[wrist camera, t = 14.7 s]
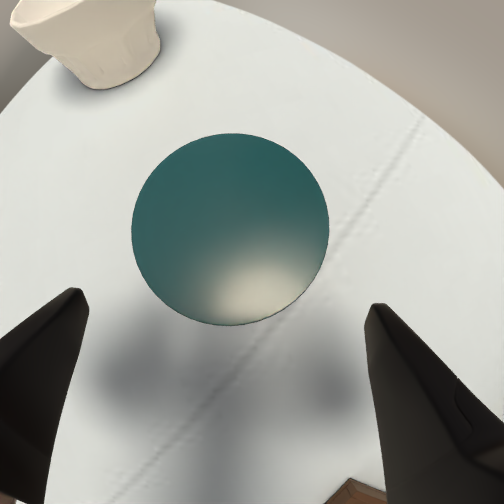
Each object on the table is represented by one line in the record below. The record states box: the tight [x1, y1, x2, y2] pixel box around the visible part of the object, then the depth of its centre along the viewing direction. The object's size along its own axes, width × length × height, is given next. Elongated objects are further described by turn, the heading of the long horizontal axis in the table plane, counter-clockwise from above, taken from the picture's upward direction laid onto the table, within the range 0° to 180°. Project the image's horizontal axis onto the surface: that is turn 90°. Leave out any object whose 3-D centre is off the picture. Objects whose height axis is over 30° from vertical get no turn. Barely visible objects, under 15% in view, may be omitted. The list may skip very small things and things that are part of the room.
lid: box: [131, 134, 329, 326], centre depth 11 cm, size 7×7×2 cm
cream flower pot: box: [10, 0, 160, 89], centre depth 18 cm, size 12×12×11 cm
